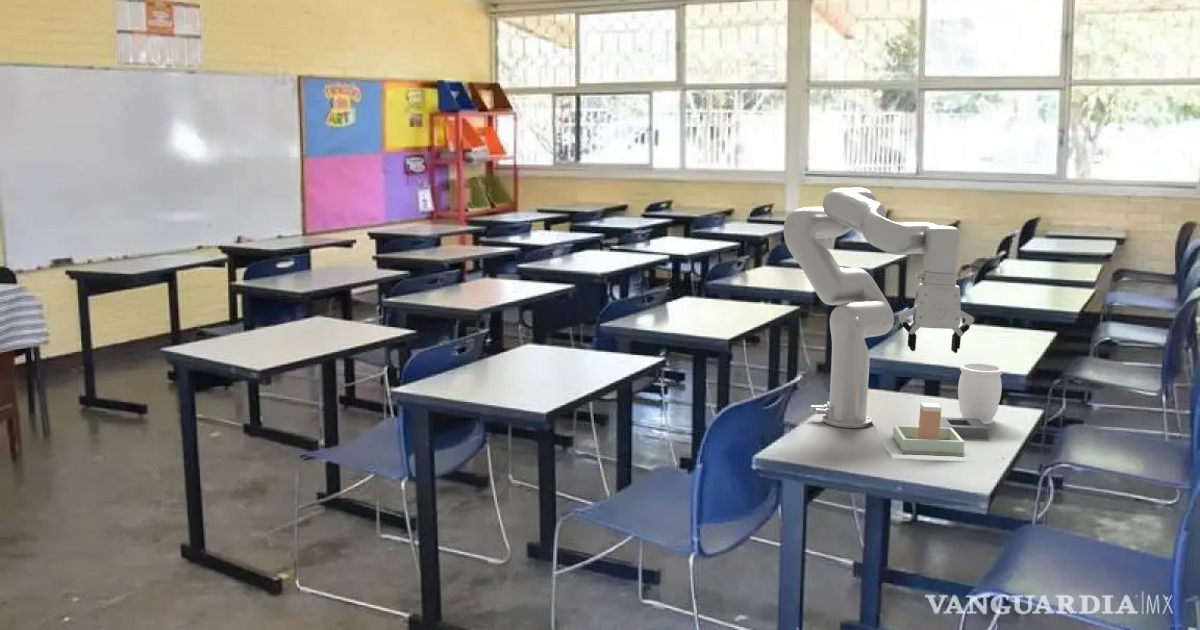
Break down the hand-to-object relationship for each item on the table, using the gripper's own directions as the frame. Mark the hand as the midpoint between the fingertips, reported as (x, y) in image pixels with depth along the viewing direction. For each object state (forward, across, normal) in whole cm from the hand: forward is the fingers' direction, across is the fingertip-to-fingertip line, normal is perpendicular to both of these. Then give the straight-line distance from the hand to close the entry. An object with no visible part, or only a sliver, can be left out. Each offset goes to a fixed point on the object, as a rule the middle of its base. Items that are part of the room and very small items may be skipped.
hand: (933, 350), depth 244 cm
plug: (+23, 0, 0) cm, 23 cm away
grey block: (+24, +10, +11) cm, 28 cm away
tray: (+24, 0, 0) cm, 24 cm away
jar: (+24, +18, +24) cm, 39 cm away
